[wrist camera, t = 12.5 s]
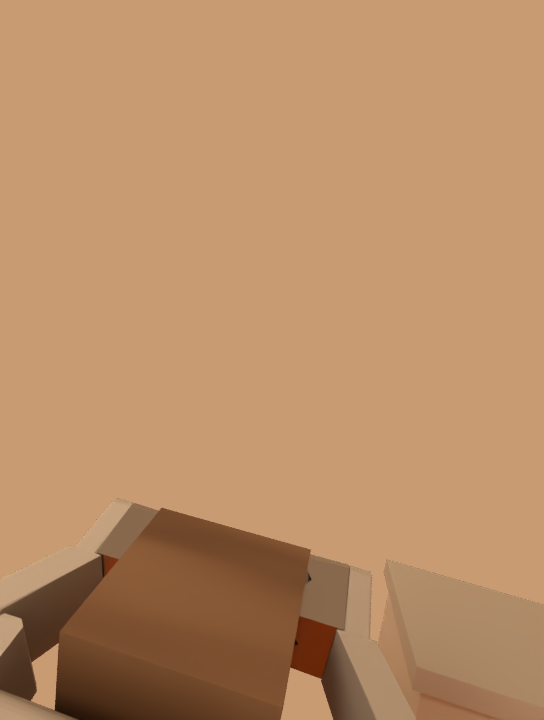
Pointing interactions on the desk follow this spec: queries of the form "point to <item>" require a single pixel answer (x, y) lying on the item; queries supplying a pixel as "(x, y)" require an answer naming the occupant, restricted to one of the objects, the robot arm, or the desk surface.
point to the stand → (462, 648)
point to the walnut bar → (185, 627)
